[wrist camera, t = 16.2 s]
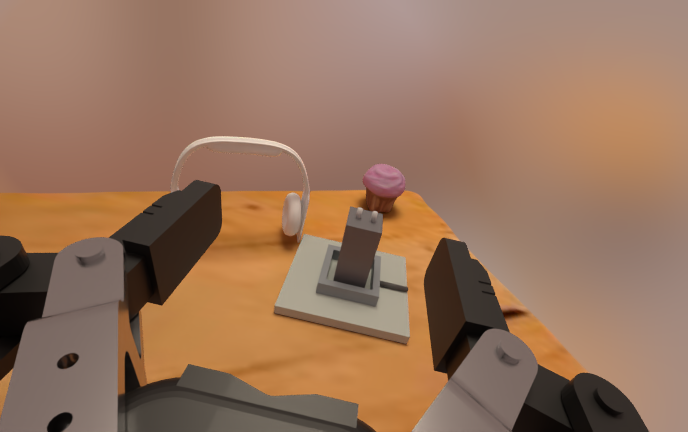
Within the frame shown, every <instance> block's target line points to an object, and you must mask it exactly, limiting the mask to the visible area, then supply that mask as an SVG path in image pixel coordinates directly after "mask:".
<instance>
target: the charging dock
mask: <svg viewBox="0 0 688 432" xmlns="http://www.w3.org/2000/svg"><path fill="white" fill-rule="evenodd" d="M341 245H342V243H341V242H337V241H332V240H328V239H324V238H319V237H315V236H311V235H306V234H304V235H303V238H302V240H301V243H300V245H299V248H298V250H297V252H296V255H295V257H294V260H293V262H292V265H291V267H290V269H289V272H288V274H287V277H286V279H285V282H284V284H283V287H282V289H281V291H280V294H279V296H278V299H277V301H276V304H275V308H274V313H276V314H281V315H285V316H289V317H293V318H298V319H302V320H306V321H310V322H315V323H319V324H323V325H328V326H332V327H336V328H340V329H345V330H349V331H353V332H357V333H362V334H366V335H370V336H374V337H379V338H383V339H387V340H392V341H396V342H400V343H404V344H407V342H408V340H409V338H410V331H409V314H408V296H407V291H408V287H407V278H406V260H405V257H401V256H397V255H393V254H388V253H384V252H380V251H376V254H375V257H374V260H373V263H372V266H371V269H370V272H369V276H368V279H367V282H366V285H365V288H362V287H357V286H353V285H349V284H345V283H340V282H336V281H333V279H334V275H335V271H336V266H337V262H338V258H339V253H340V249H341Z"/></svg>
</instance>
